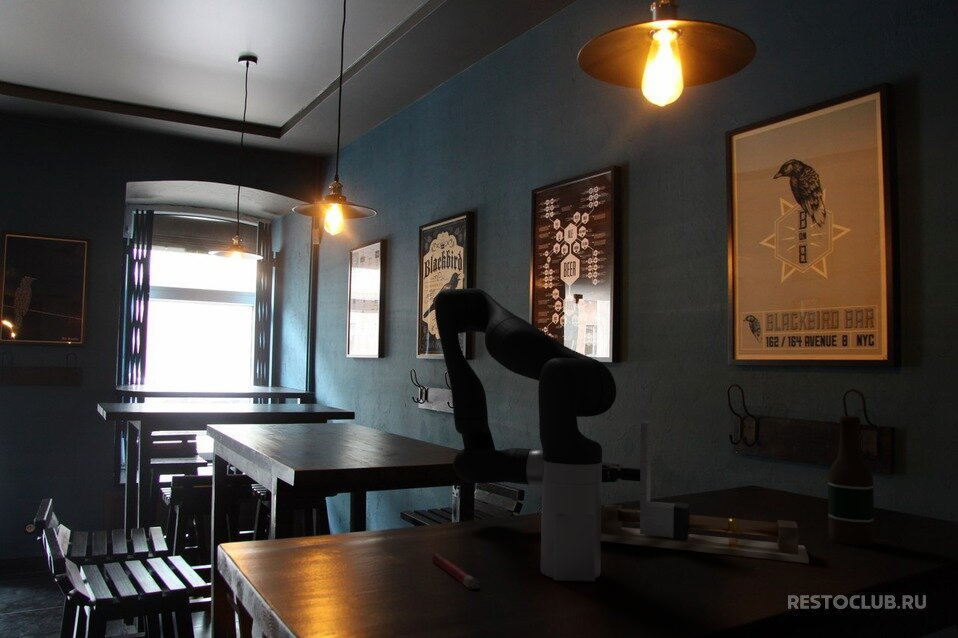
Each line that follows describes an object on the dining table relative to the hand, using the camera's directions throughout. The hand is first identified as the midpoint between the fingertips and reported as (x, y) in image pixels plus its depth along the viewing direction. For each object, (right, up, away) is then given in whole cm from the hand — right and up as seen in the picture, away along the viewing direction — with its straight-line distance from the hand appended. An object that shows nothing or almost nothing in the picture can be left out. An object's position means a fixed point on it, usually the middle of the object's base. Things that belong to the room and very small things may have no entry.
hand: (642, 475), depth 134 cm
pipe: (+9, -9, -4) cm, 13 cm away
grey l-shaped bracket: (+3, -10, -2) cm, 11 cm away
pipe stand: (+9, -12, -4) cm, 15 cm away
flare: (-35, -10, -27) cm, 45 cm away
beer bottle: (+41, -13, +2) cm, 43 cm away
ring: (+7, -11, -3) cm, 13 cm away
